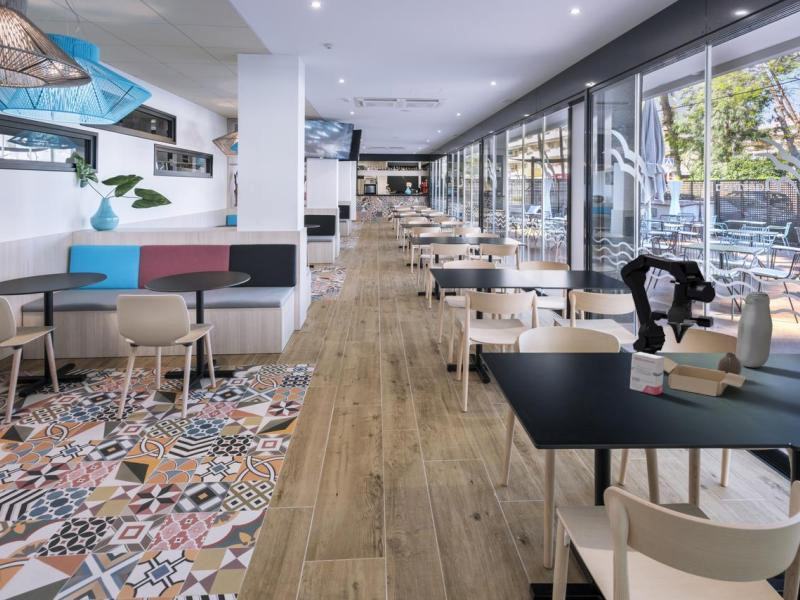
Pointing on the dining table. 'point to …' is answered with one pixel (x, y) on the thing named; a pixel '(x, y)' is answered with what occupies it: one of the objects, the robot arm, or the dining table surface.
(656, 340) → the robot arm
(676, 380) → the carton
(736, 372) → the vase
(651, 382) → the ink box
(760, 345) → the grey bottle
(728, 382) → the flap right
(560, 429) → the dining table surface
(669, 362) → the flap left
